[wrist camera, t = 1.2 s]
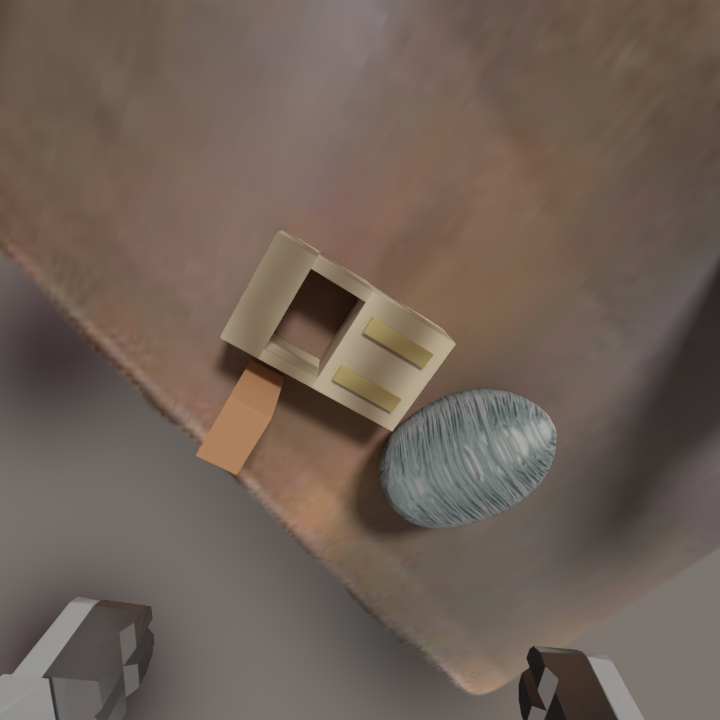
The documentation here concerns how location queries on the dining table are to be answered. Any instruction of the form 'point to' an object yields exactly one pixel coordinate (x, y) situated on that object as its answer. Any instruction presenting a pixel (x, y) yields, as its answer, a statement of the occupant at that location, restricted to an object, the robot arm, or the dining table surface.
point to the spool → (466, 458)
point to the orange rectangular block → (242, 418)
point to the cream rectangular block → (340, 335)
